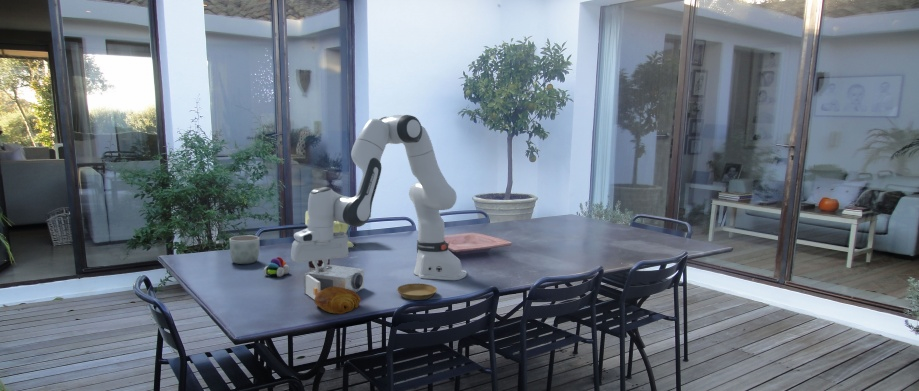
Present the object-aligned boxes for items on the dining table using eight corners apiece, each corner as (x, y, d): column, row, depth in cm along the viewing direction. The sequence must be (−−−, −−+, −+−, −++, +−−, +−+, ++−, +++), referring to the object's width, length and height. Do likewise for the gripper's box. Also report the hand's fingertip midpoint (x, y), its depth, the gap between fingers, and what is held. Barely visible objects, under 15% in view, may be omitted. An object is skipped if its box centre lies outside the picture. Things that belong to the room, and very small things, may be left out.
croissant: (325, 323, 178) (326, 301, 176) (309, 304, 191) (309, 282, 189) (366, 315, 186) (367, 293, 184) (348, 296, 199) (349, 276, 197)
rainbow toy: (292, 273, 230) (292, 256, 229) (279, 278, 221) (279, 261, 220) (274, 271, 232) (274, 254, 231) (260, 276, 223) (260, 259, 222)
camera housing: (366, 288, 210) (367, 268, 210) (347, 298, 197) (348, 277, 196) (327, 283, 216) (327, 263, 215) (306, 292, 203) (306, 272, 202)
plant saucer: (445, 296, 205) (445, 289, 204) (416, 304, 194) (416, 297, 193) (417, 287, 214) (417, 281, 214) (388, 295, 203) (388, 288, 203)
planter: (223, 264, 241) (223, 239, 239) (241, 258, 253) (240, 234, 251) (248, 266, 238) (248, 241, 237) (265, 260, 250) (265, 236, 248)
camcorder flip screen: (320, 301, 192) (320, 281, 192) (315, 302, 191) (315, 282, 191) (307, 292, 203) (307, 273, 202) (302, 292, 202) (302, 273, 201)
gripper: (344, 230, 203) (343, 266, 204) (289, 234, 190) (289, 273, 192) (351, 232, 197) (351, 270, 199) (295, 237, 185) (295, 277, 187)
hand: (320, 272), depth 195 cm, fingers closed
